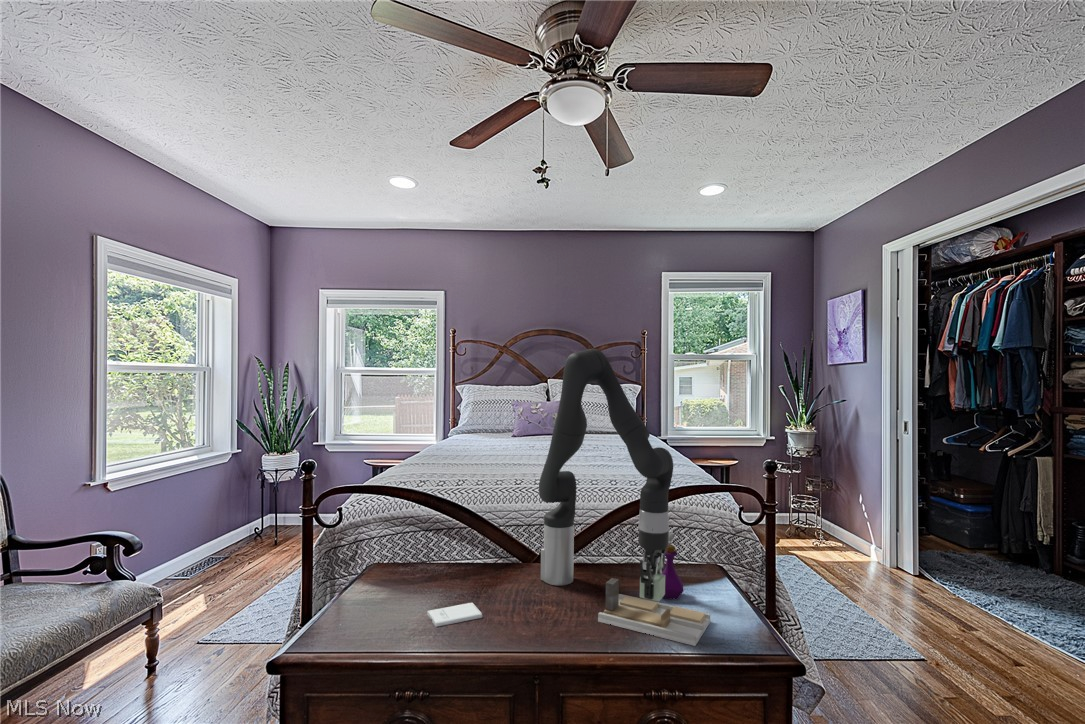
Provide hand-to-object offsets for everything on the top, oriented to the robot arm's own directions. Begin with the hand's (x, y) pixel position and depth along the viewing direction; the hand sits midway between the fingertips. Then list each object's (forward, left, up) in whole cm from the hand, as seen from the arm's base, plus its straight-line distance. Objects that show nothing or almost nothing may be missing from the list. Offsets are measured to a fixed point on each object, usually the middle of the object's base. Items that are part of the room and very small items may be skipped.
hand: (652, 594), depth 144 cm
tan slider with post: (-4, -1, -7) cm, 8 cm away
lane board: (0, +3, -8) cm, 9 cm away
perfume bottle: (-2, +21, -8) cm, 23 cm away
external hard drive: (-47, -21, -9) cm, 52 cm away
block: (0, 0, 0) cm, 0 cm away
